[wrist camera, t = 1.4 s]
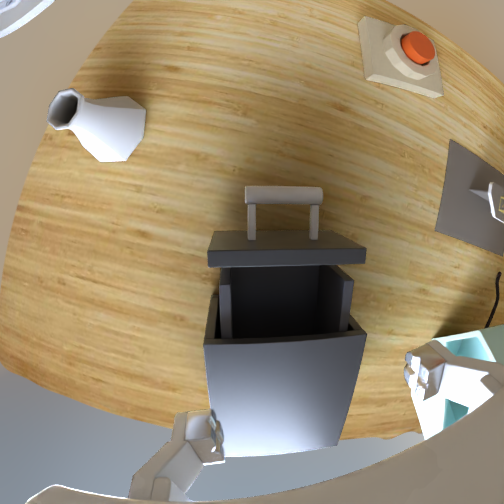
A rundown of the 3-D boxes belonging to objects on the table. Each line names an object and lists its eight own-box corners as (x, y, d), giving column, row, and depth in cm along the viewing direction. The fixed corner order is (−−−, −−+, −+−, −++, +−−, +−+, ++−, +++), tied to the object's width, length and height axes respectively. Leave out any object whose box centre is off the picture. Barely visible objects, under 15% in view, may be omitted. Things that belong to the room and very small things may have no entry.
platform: (502, 256, 31) (531, 267, 25) (434, 230, 29) (470, 242, 23) (515, 184, 28) (545, 188, 22) (450, 138, 26) (486, 135, 20)
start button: (403, 59, 21) (412, 53, 19) (398, 32, 20) (406, 26, 18) (429, 68, 21) (438, 64, 19) (423, 42, 20) (432, 37, 18)
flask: (158, 104, 24) (123, 69, 14) (131, 172, 25) (82, 169, 16) (101, 90, 23) (52, 59, 13) (76, 153, 24) (17, 146, 15)
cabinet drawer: (213, 186, 25) (205, 186, 18) (333, 187, 26) (370, 190, 19) (219, 354, 30) (217, 402, 22) (321, 348, 30) (343, 391, 23)
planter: (410, 341, 38) (512, 321, 19) (443, 336, 39) (538, 314, 19) (406, 440, 32) (499, 467, 13) (440, 428, 33) (530, 442, 13)
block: (364, 79, 24) (381, 68, 21) (357, 23, 23) (370, 8, 19) (433, 98, 25) (453, 92, 21) (424, 45, 23) (441, 35, 19)
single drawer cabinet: (211, 294, 29) (203, 344, 20) (330, 290, 30) (367, 333, 20) (218, 398, 32) (217, 456, 23) (316, 392, 33) (337, 445, 24)
